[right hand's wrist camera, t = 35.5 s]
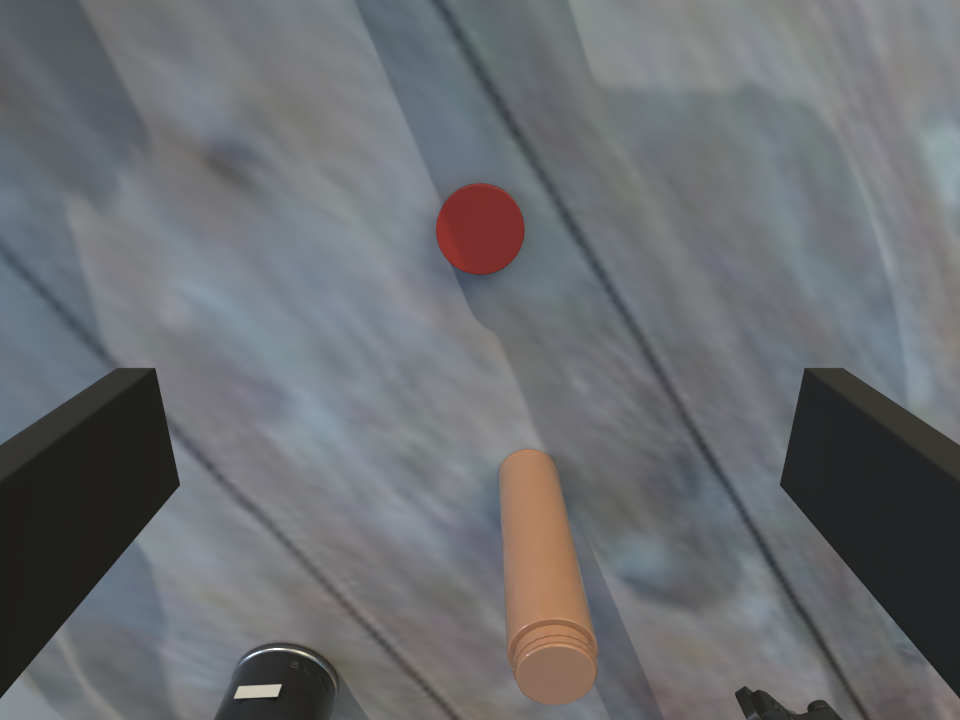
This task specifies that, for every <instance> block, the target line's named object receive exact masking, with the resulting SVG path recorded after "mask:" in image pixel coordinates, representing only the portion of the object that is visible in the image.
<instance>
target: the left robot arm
mask: <svg viewBox="0 0 960 720" xmlns="http://www.w3.org/2000/svg"><path fill="white" fill-rule="evenodd" d="M338 689H339V683H338V678H337V675H336V673H335V671H334V669H333V667H332V666H331V665H330V664H329V663H328V661H327V660H325V659H324V658H323V657H322V656H320V655H319V654H317V653H316V652H314V651H312V650H310V649H307V648H305V647H302V646H298V645H294V644H286V643H275V644H268V645H263V646H260V647H258V648H255V649H253V650H251V651H250V652H248V653H247V654H246V655H244V656H243V657H242V659H241V660H240V661H239V663H238V664H237V667H236V669H235V671H234V673H233V676H232V680H231V683H230V685H229V687H228V689H227V692H226V694H225V696H224V698H223V700H222V703H221V704H220V707H219V709H218V711H217V713H216V716H215V718H214V720H330V717H331V713H332V709H333V706H334V704H335V701H336V698H337V694H338ZM735 696H736V698H737V700H738V702H739V704H740V706H741V709H742V711H743V713H744V715H745V717H746V719H747V720H843V719H842V718H841V717H840V716H839V715H838V714H837V713H836V712H835V711H834V710H833V709H832V708H831V707H830V706H829V705H828V703H827V702H825V701H823V700H816V701H813V702H812V703H810V704H809V706H808V708H807V710H808V712H807V713H804V714H799V715H796V713H795V712H793V711H790V710H787V709H785V708H784V707H783V706H782V705H781V704H779V703H778V702H777V701H776V700H775V699H774V698H772V697H771V696H770V695H769V694H768V693H767V692H764V691H761V690H757V691H755V692H754V693H753V692H752V691H751V690H750V689H748V688H747V687H746V686H744V687H743V688H741V689H740V690H738V691H737V692H735Z"/></svg>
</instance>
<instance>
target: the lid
mask: <svg viewBox="0 0 960 720" xmlns="http://www.w3.org/2000/svg"><path fill="white" fill-rule="evenodd" d="M436 235H437V241H438V244H439V247H440V249H441V251H442V253H443V254H444V256H445V257H446V259H447V260H448V261H449V262H450V263H451V264H452V265H454V266H455V267H457V268H458V269H460V270H462V271H464V272H467V273H471V274H478V275H481V274H490V273H493V272H496V271H499V270H501V269H502V268H504V267H506V266H507V265H508V264H509V263H510V262H511V261H512V260H513V259H514V258H515V257H516V255H517V254H518V252H519V250H520V248H521V246H522V243H523V239H524V221H523V217H522V214H521V212H520V210H519V208H518V206H517V204H516V202H515V201H514V200H513V198H512V197H511V196H510V195H509V194H508V193H506V192H505V191H504V190H502V189H500V188H498V187H496V186H493V185H490V184H483V183H478V184H471V185H467V186H464V187H462V188H460V189H458V190H457V191H455V192H454V193H453V194H452V195H451V196H450V197H449V198H448V199H447V200H446V202H445V203H444V205H443V207H442V209H441V211H440V213H439V216H438V219H437V225H436Z"/></svg>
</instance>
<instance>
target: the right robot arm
mask: <svg viewBox="0 0 960 720" xmlns="http://www.w3.org/2000/svg"><path fill="white" fill-rule="evenodd" d="M179 486H180V483H179V478H178V473H177V468H176V464H175V459H174V454H173V450H172V445H171V440H170V435H169V431H168V426H167V421H166V417H165V412H164V407H163V402H162V398H161V393H160V388H159V384H158V379H157V374H156V369H155V368H117V369H115V370H114V371H112V372H111V373H109V374H108V375H106V376H105V377H103V378H102V379H100V380H99V381H97V382H95V383H94V384H92V385H91V386H89V387H88V388H86V389H85V390H83V391H82V392H80V393H79V394H77V395H76V396H74V397H73V398H71V399H70V400H68V401H67V402H65V403H64V404H62V405H61V406H59V407H58V408H56V409H55V410H53V411H52V412H50V413H49V414H47V415H46V416H44V417H42V418H41V419H39V420H38V421H36V422H35V423H33V424H32V425H30V426H29V427H27V428H26V429H24V430H23V431H21V432H20V433H18V434H17V435H15V436H14V437H12V438H11V439H9V440H8V441H6V442H5V443H3V444H2V445H0V698H1V697H2V696H3V695H4V693H5V692H6V691H7V690H8V689H9V688H10V686H11V685H12V684H13V683H14V682H15V680H16V679H17V678H18V677H19V676H20V675H21V673H22V672H23V671H24V670H25V669H26V667H27V666H28V665H29V664H30V663H31V661H32V660H33V659H34V658H35V657H36V655H37V654H38V653H39V652H40V651H41V650H42V648H43V647H44V646H45V645H46V644H47V642H48V641H49V640H50V639H51V638H52V636H53V635H54V634H55V633H56V632H57V631H58V629H59V628H60V627H61V626H62V625H63V623H64V622H65V621H66V620H67V619H68V617H69V616H70V615H71V614H72V613H73V612H74V610H75V609H76V608H77V607H78V606H79V604H80V603H81V602H82V601H83V600H84V598H85V597H86V596H87V595H88V594H89V593H90V591H91V590H92V589H93V588H94V587H95V585H96V584H97V583H98V582H99V581H100V579H101V578H102V577H103V576H104V575H105V574H106V572H107V571H108V570H109V569H110V568H111V566H112V565H113V564H114V563H115V562H116V560H117V559H118V558H119V557H120V556H121V554H122V553H123V552H124V551H125V550H126V549H127V547H128V546H129V545H130V544H131V543H132V541H133V540H134V539H135V538H136V537H137V535H138V534H139V533H140V532H141V531H142V530H143V528H144V527H145V526H146V525H147V524H148V522H149V521H150V520H151V519H152V518H153V516H154V515H155V514H156V513H157V512H158V511H159V509H160V508H161V507H162V506H163V505H164V503H165V502H166V501H167V500H168V499H169V497H170V496H171V495H172V494H173V493H174V492H175V490H176V489H177V488H178V487H179ZM780 486H781V487H782V488H783V489H784V490H785V492H786V493H787V494H788V495H789V496H790V497H791V499H792V500H793V501H794V502H795V503H796V505H797V506H798V507H799V508H800V509H801V511H802V512H803V513H804V514H805V515H806V516H807V518H808V519H809V520H810V521H811V522H812V524H813V525H814V526H815V527H816V528H817V530H818V531H819V532H820V533H821V534H822V535H823V537H824V538H825V539H826V540H827V541H828V543H829V544H830V545H831V546H832V547H833V549H834V550H835V551H836V552H837V553H838V554H839V556H840V557H841V558H842V559H843V560H844V562H845V563H846V564H847V565H848V566H849V568H850V569H851V570H852V571H853V572H854V574H855V575H856V576H857V577H858V578H859V579H860V581H861V582H862V583H863V584H864V585H865V587H866V588H867V589H868V590H869V591H870V593H871V594H872V595H873V596H874V597H875V598H876V600H877V601H878V602H879V603H880V604H881V606H882V607H883V608H884V609H885V610H886V612H887V613H888V614H889V615H890V616H891V617H892V619H893V620H894V621H895V622H896V623H897V625H898V626H899V627H900V628H901V629H902V631H903V632H904V633H905V634H906V635H907V636H908V638H909V639H910V640H911V641H912V642H913V644H914V645H915V646H916V647H917V648H918V650H919V651H920V652H921V653H922V654H923V655H924V657H925V658H926V659H927V660H928V661H929V663H930V664H931V665H932V666H933V667H934V669H935V670H936V671H937V672H938V673H939V675H940V676H941V677H942V678H943V679H944V680H945V682H946V683H947V684H948V685H949V686H950V688H951V689H952V690H953V691H954V692H955V694H956V695H957V696H958V697H959V698H960V445H958V444H957V443H955V442H954V441H952V440H951V439H949V438H948V437H946V436H945V435H943V434H942V433H940V432H939V431H937V430H936V429H934V428H933V427H931V426H930V425H928V424H927V423H925V422H924V421H922V420H921V419H919V418H918V417H916V416H914V415H913V414H911V413H910V412H908V411H907V410H905V409H904V408H902V407H901V406H899V405H898V404H896V403H895V402H893V401H892V400H890V399H889V398H887V397H886V396H884V395H883V394H881V393H880V392H878V391H877V390H875V389H874V388H872V387H871V386H869V385H868V384H866V383H865V382H863V381H861V380H860V379H858V378H857V377H855V376H854V375H852V374H851V373H849V372H848V371H846V370H845V369H843V368H805V369H804V374H803V379H802V384H801V388H800V393H799V398H798V402H797V407H796V412H795V417H794V421H793V426H792V431H791V435H790V440H789V445H788V450H787V454H786V459H785V464H784V468H783V473H782V478H781V483H780Z"/></svg>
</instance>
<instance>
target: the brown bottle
mask: <svg viewBox="0 0 960 720" xmlns="http://www.w3.org/2000/svg"><path fill="white" fill-rule="evenodd" d="M498 483H499V502H500V521H501V540H502V559H503V578H504V598H505V617H506V636H507V654H508V660H509V663H510V665H511V667H512V669H513V674H514V678H515V680H516V682H517V685H518V687H519V689H520V690H521V691H522V693H523V694H524V695H526V696H527V697H528V698H530V699H531V700H533V701H536V702H538V703H542V704H547V705H561V704H566V703H570V702H573V701H575V700H578V699H579V698H581V697H583V696H584V695H585V694H586V693H587V692H588V691H589V690H590V689H591V688H592V686H593V684H594V682H595V680H596V676H597V672H598V667H597V661H596V659H597V655H598V645H597V640H596V636H595V632H594V627H593V623H592V618H591V614H590V610H589V605H588V601H587V596H586V592H585V588H584V583H583V579H582V574H581V570H580V566H579V561H578V557H577V552H576V548H575V544H574V539H573V535H572V530H571V526H570V522H569V517H568V513H567V508H566V504H565V500H564V495H563V491H562V487H561V482H560V478H559V473H558V469H557V466H556V464H555V462H554V461H553V460H552V459H551V457H549V456H548V455H547V454H545V453H543V452H541V451H538V450H532V449H526V450H520V451H517V452H515V453H513V454H511V455H510V456H508V457H507V458H506V459H505V460H504V461H503V463H502V464H501V466H500V469H499V472H498Z"/></svg>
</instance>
